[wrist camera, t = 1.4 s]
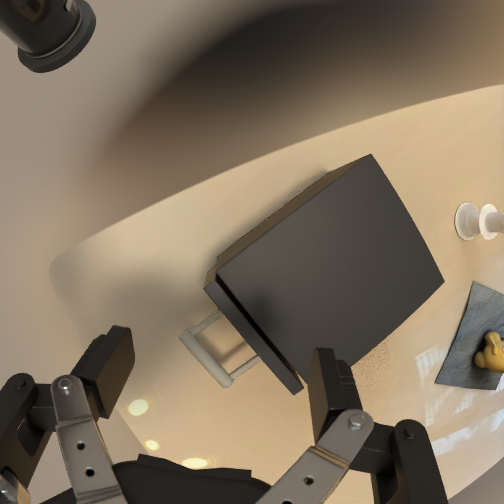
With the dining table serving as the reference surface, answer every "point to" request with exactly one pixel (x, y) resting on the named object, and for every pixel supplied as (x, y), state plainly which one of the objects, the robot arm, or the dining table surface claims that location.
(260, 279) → the dark gray cabinet
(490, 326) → the stuffed giraffe
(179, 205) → the dining table surface
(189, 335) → the drawer
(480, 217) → the candle
